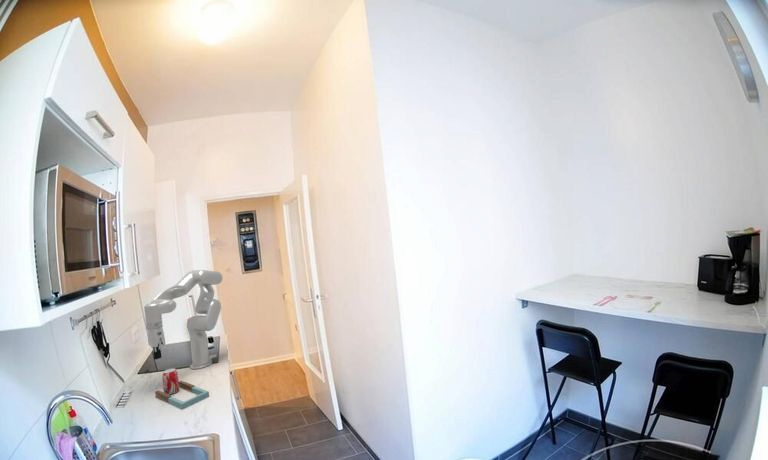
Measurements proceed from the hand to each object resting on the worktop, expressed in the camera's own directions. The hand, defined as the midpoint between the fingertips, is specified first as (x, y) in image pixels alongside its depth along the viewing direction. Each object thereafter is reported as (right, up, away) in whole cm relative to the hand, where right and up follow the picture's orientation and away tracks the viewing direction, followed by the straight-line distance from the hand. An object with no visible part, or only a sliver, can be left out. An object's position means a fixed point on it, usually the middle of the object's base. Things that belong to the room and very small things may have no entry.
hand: (157, 358), depth 192 cm
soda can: (+11, -16, -6) cm, 21 cm away
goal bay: (+26, -15, -15) cm, 33 cm away
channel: (+15, -16, -8) cm, 23 cm away
